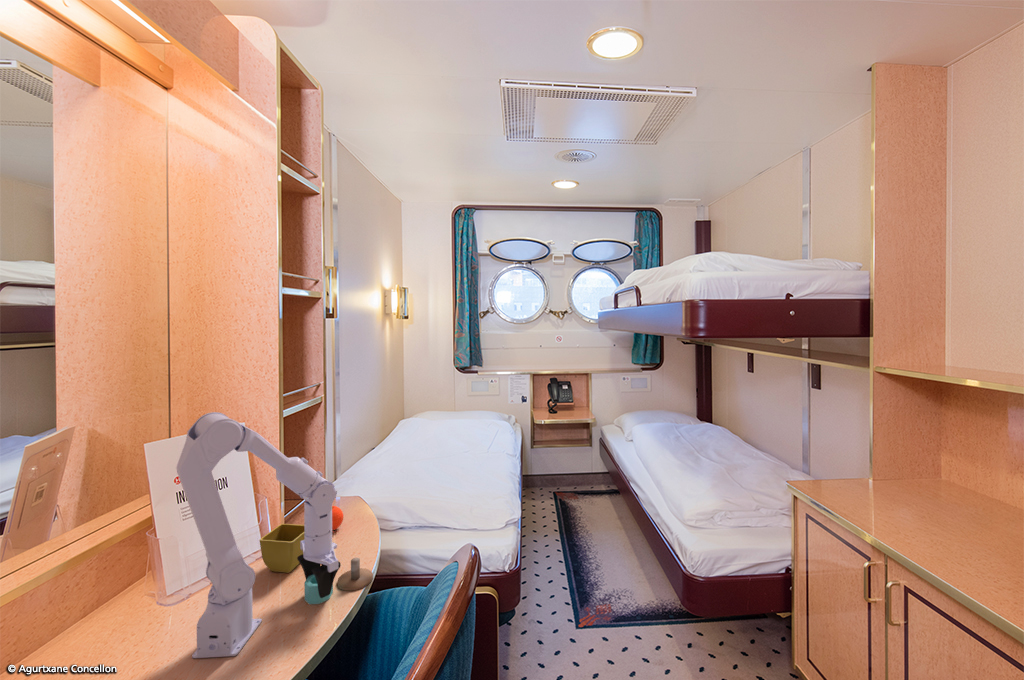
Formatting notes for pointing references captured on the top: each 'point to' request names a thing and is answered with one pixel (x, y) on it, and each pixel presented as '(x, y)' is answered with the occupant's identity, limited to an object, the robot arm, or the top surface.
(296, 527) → the flower pot
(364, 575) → the post
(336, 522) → the clementine
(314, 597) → the collar
